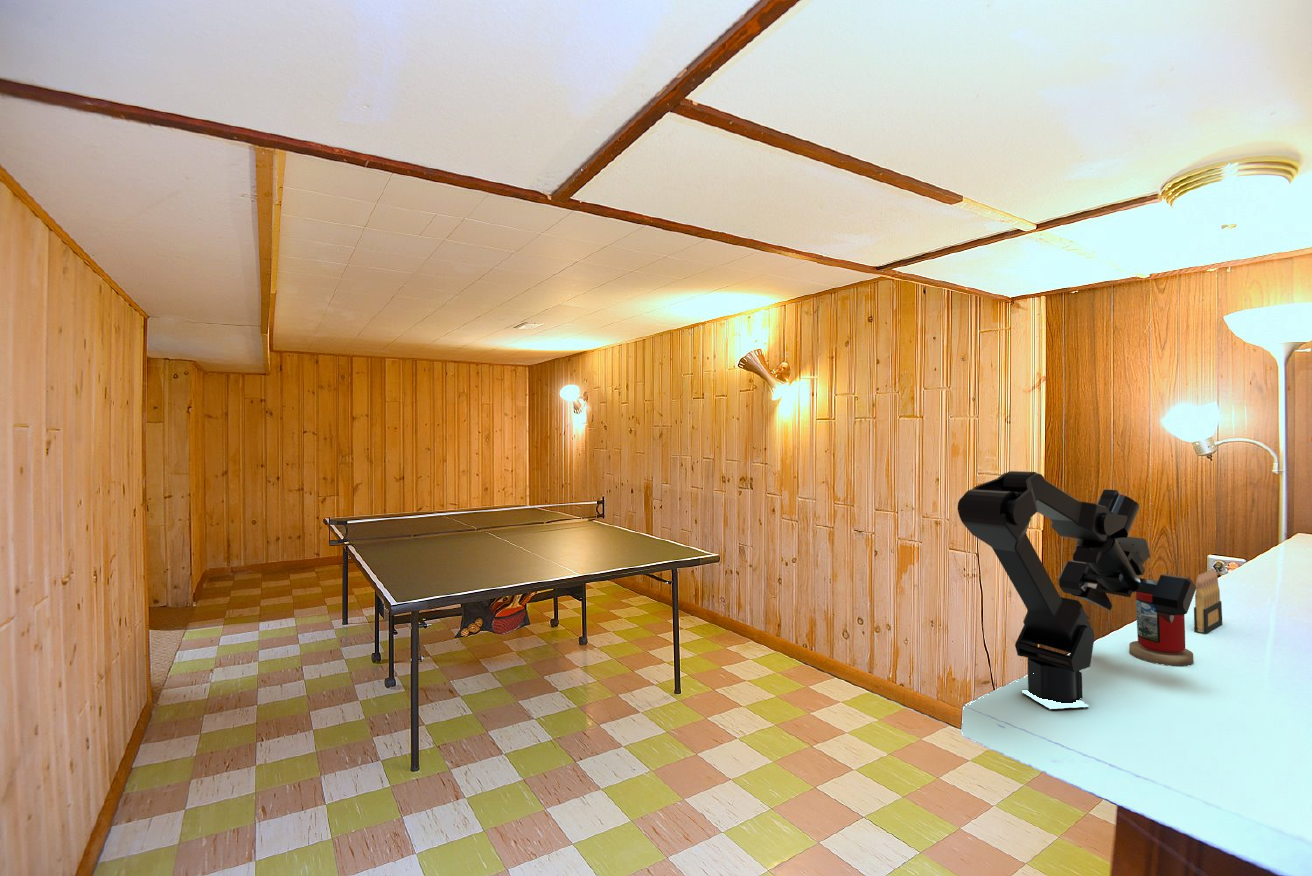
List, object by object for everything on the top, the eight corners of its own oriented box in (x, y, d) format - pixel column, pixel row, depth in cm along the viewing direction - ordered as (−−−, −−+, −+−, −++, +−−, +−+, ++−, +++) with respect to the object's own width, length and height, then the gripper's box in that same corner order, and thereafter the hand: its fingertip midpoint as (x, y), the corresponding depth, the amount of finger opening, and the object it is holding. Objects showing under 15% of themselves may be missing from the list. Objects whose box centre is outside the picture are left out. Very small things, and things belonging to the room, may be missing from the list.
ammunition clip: (1206, 634, 121) (1204, 575, 121) (1194, 632, 122) (1192, 574, 123) (1222, 624, 127) (1220, 568, 127) (1211, 622, 128) (1209, 567, 128)
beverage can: (1132, 641, 114) (1130, 578, 114) (1177, 645, 111) (1174, 581, 111) (1144, 653, 107) (1142, 586, 108) (1192, 657, 105) (1189, 589, 105)
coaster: (1185, 670, 103) (1184, 661, 103) (1122, 655, 111) (1121, 647, 111) (1200, 658, 108) (1199, 650, 108) (1138, 645, 116) (1138, 637, 116)
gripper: (1189, 529, 96) (1220, 588, 101) (1064, 517, 112) (1097, 569, 117) (1167, 584, 92) (1201, 643, 97) (1041, 564, 108) (1076, 615, 113)
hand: (1139, 614), depth 106 cm, fingers open, 9 cm apart
